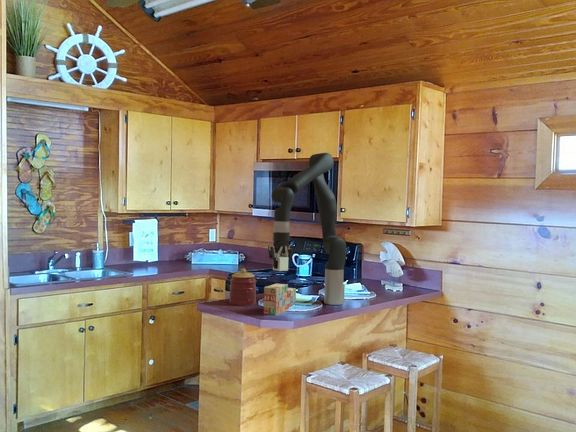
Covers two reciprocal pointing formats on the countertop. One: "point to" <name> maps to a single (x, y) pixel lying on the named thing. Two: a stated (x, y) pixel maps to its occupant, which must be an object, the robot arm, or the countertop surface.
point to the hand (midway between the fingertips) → (280, 268)
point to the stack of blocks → (278, 298)
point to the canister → (242, 289)
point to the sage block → (282, 264)
